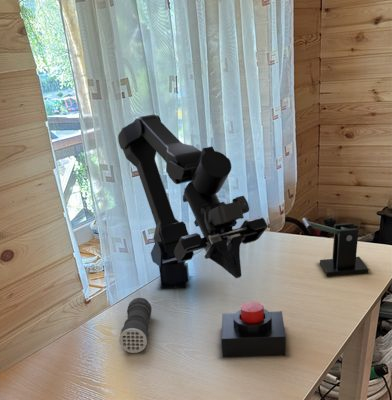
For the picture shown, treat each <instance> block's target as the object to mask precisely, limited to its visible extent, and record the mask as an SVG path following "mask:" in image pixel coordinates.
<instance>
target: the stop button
mask: <svg viewBox="0 0 392 400" xmlns="http://www.w3.org/2000/svg"><path fill="white" fill-rule="evenodd" d="M264 309H265V306H264V304H263V303H261V302H259V301H247V302H244V303H243V304H241V305H240V310H241V320H242V321H243V322H247V323H257V322H260V321H262V320H263V319H264Z"/></svg>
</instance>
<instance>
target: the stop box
mask: <svg viewBox="0 0 392 400" xmlns="http://www.w3.org/2000/svg"><path fill="white" fill-rule="evenodd" d="M220 335H221V336H220V337H221V338H220V340H221V341H220V342H221V354H222V355H221V356H222V358H246V357H247V358H248V357H278V356H279V357H280V356H286V353H287V347H286V345H287V343H286V341H287V335H286V329H285V323H284V317H283V311H282V310H279V311H278V310H276V311H269V310H267V309H265V308H264V319H263V320H262V321H260V322H257V323H247V322H243V321H242V320H241V309H239V310H238V311H236V312H229V313H222V317H221V334H220Z"/></svg>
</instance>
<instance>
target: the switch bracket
mask: <svg viewBox="0 0 392 400" xmlns="http://www.w3.org/2000/svg"><path fill="white" fill-rule="evenodd" d="M333 226H334V227H333V228H335V229H339V234H338V235H337V234H334V233H333V244H332V245H333V246H332V257H331V258H327V259H325V258H324V259H319V266H320V268H321V269H322V271H323V273H324V275H325V276H326V277H327V278H330V277H342V276H353V275H364V274H367V275H368V274H369V267H368V266H367V264H365V262H364V261H363V260H362V258H361V257H360V256H357V251H358V241H359V229H358V227H355V228H354V226H355V224H354V223H353V222H347V223H346V222H345V223H335V224H334V225H333ZM341 227H345V228H349V229H343V230H340V229H341Z"/></svg>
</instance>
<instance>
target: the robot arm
mask: <svg viewBox="0 0 392 400" xmlns="http://www.w3.org/2000/svg"><path fill="white" fill-rule="evenodd" d="M117 140H118V141H117V142H118V146H119V147H120V149H121V150H122V152H123V154H124V156H125V158H126V160H127V161H128V162H130V163H131V164H132V165H133V166H134V167H135V168H136V170H137V173H138V176H139V180H140V182H141V185H142V188H143V191H144V194H145V197H146V200H147V203H148V206H149V208H150V209H149V210H150V211H151V214H152V217H153V220H154V223H155V229H154V233H153V242H154V244H153V247H152V249H151V252H150V256H151V260H152V262H153V263H154V264H156V266H158V270H159V277H160V285H159V288H160V289H180V288H181V289H182V288H186V287H187V284H188V283H189V282H190V281H189V280H190V273H189V263H188V261H191V260H192V259H193V257H194V255H195V253H194V252H195V251H199V250H203V249H204V251H205V254H204V258H205V260H207V259H210V260H211V261H213V262H214V263H216V264H218V265H219V266H220V267H221V268H223V269H224V270H225V271H226V272H228V274H230V275H231V276H233V277H234V278H235V279H240V278H241V277H242V266H241V256H240V255H241V253H240V252H241V251H240V249H241V245H242V244H244V245H246V244H249V243H253V242H256V241H257V240H259V239H260V238H261V236H262V235H263V234H264V233H265V231H266V230H267V229H268V228H269V225H268V223H267V221H266V219H265V218H264V217H263V216H261V215H258V216H255V217H251V218H248V219H244V218H245V217H244V214H246V213H249V211H250V206H249V202H248V200H247V199H246V197H245V195H239V196H237V197H234V198H232V201H231V202H229V203H226V202H225V201H221V200H219V198H218V193H219V192H221V189H222V188H223V186H224V184H225V182H226V180H227V178H228V176H229V175H230V173H231V171H232V163H231V160H230V158H229V157H227V156H226V155H225V154H224V153H222V152H220V151H216V150H215V148H214V147H213V146H207V147H203V148H202V150H200V149H199V148H197V147H196V146H194V145H191V144H187V143H183V142H182V141H181V140H179V138H178V137H177V136H175V134H174V133H173V132H172V131H171V130H170V129H169V128H168V127H167V126H166V125H165V124H164V123H163V122H162V120H161V117H160V116H159V115H158V114H146V115H140V116H138V117H136V118H135V119H134V120H133V122H131V123H129V124H127V125H126V126H124V127H122V128H121V130H120V131H119V132H118V135H117ZM157 154H158V155H159V156H160V157H161V159H162V160H163V161H164V162H165V164H166V165H165V172H166V173H167V176H168V178H169V179H170V180H171V181H172V183H174V184H175V185H180V184H185V183H187V184H186V186H185V187H184V189H183V190H184V191H183V195H182V202H183V203H188V206H189V207H190V210H191V212H192V214H193V216H194V219H195V220H194V222H193V223H194V225H195V228H197V227H199V229H200V232H201V233H202V236H203V237H201V234H200V233H197V232H195V233H191V234H189V231H188V229H187V225H186V223H185V222H184V221H183V220H181V221H179V220H178V219H177V218H176V217H175V214H174V212H173V209H172V206H171V202H170V199H169V197H168V194H167V190H166V187H165V185H164V182H163V179H162V176H161V172H160V170H159V167H158V164H157V161H156V156H157ZM240 219H244V221H243V223H242V224H241V225H240V227H238V228H234V227H236V226H237V223H238V221H237V220H240ZM233 228H234V229H233ZM186 261H187V262H186Z"/></svg>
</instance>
